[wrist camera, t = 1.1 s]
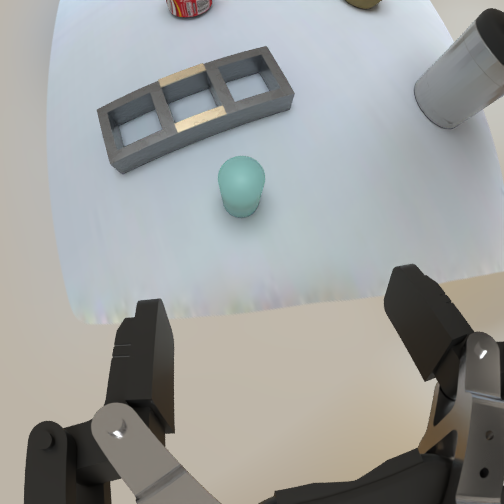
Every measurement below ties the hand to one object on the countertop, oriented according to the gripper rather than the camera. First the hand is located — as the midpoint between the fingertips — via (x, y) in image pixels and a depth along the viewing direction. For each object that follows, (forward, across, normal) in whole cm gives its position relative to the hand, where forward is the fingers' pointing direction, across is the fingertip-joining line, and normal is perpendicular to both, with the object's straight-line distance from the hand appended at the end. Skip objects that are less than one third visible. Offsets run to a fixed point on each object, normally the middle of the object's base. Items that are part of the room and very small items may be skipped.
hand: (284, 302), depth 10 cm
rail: (+32, +3, -1) cm, 32 cm away
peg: (+25, -1, +8) cm, 26 cm away
